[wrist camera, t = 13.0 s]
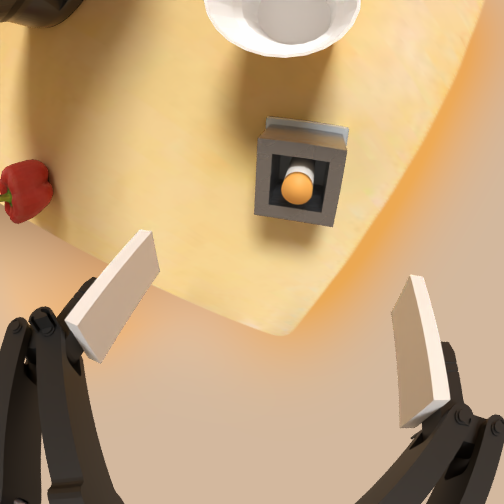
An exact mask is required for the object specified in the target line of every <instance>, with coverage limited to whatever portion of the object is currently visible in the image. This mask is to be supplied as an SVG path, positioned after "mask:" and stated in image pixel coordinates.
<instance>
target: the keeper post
mask: <svg viewBox="0 0 504 504" xmlns="http://www.w3.org/2000/svg"><path fill="white" fill-rule="evenodd" d="M270 124H276V125H285V126H294V127H301V128H309V129H315V130H322V131H328V132H334V133H340V134H343V137H344V141H345V144H346V145H347V139H348V132H349V128H348V127H343V126H337V125H331V124H325V123H319V122H312V121H305V120H297V119H289V118H280V117H270V116H268V117H267V118H266V128H267V127H268V126H269V125H270ZM325 167H326V162H325V161H319V160H313V159H306V158H299V157H292V156H285V155H281V157H280V169H279V179H283V180H284V181H283V184H282V188H281V192H282V195H283V197H284V198H285V199H286V200H287V201H288V202H290V203H292V204H297V205H299V204H303V203H306V202H307V201H308V200H309V199H310V198H311V196H312V190H313V184H316V185H322V186H323V180H324V174H325Z"/></svg>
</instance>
